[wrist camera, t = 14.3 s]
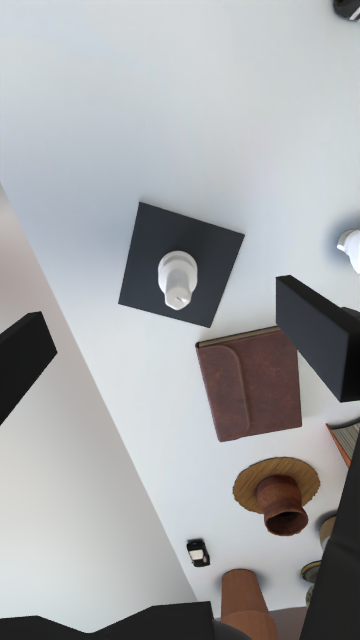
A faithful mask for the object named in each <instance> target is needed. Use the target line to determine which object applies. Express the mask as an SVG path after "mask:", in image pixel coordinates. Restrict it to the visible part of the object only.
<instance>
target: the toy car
mask: <svg viewBox="0 0 360 640" xmlns="http://www.w3.org/2000/svg"><path fill="white" fill-rule="evenodd" d="M187 550H188V552H189V554H190V557H191V559H192V561H193V562H192V563H193V564H194V566H195V567H204V566H208V565H210V558H209V555H208V554H207V551H206V549H205V544H204V543H202V542H197V543H190V544H187Z"/></svg>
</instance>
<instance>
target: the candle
mask: <svg viewBox="0 0 360 640" xmlns="http://www.w3.org/2000/svg"><path fill="white" fill-rule="evenodd" d="M158 274H159V276H158V283H159V286H160V288H161V290H162V291H163V292H164V293H165V303H166V305H168V306H169V307H171V308H173V309H175V310H179V309H181V308H183V307H185V306H186V305H187V304H188V303H189V302H190V301H191V296H192V292H193V291H194V289H195V287H196V285H197V265H196V262H195V260H194V259H193V258H192V256H190V255H189V254H188V253H186V252H183V251H173V252H170V253H168V254H166V255H165V256H164V257H163V258H162V259H161V261H160V263H159V267H158Z"/></svg>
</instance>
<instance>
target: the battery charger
mask: <svg viewBox="0 0 360 640" xmlns="http://www.w3.org/2000/svg"><path fill="white" fill-rule="evenodd" d="M334 7H335V10H336V11H337V12H338V13H339V14H341V15H342V16H344V17H348V18H349V19H350V20H354V19H355V20H358V19H360V0H334Z"/></svg>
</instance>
